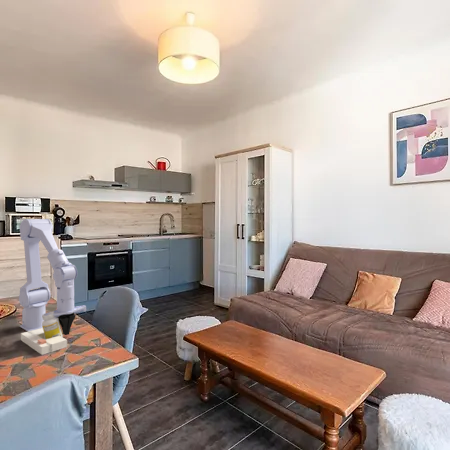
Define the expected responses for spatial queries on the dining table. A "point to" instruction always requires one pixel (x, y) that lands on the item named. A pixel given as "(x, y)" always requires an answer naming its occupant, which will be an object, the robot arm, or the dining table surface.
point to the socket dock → (43, 341)
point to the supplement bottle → (51, 326)
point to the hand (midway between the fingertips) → (66, 334)
